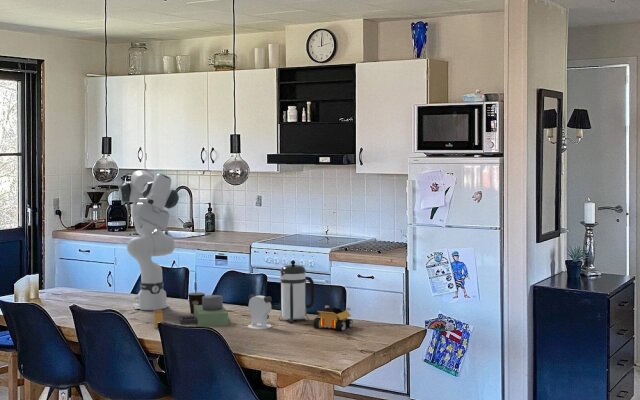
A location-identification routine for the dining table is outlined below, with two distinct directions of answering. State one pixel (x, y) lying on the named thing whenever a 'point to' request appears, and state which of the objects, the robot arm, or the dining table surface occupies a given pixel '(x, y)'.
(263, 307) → the panda figurine
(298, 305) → the coffee press
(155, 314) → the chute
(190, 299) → the coffee mug
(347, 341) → the dining table surface
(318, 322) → the yellow toy truck
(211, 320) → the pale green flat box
